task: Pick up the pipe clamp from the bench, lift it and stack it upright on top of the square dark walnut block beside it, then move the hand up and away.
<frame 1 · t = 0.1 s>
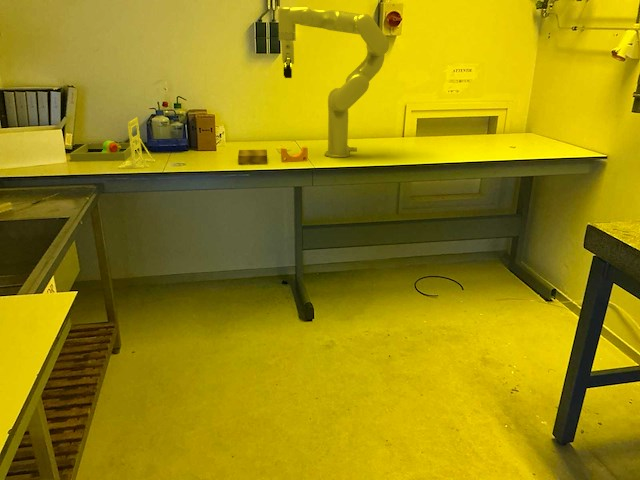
hand: (287, 77, 237), 37 cm above the table, tool pointing down, fingers open, 9 cm apart
pipe clamp: (294, 161, 241), on the table
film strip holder: (136, 165, 231), on the table
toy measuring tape: (104, 156, 249), resting in grey square tray
grey square tray: (105, 155, 249), on the table
walnut block: (253, 161, 239), on the table
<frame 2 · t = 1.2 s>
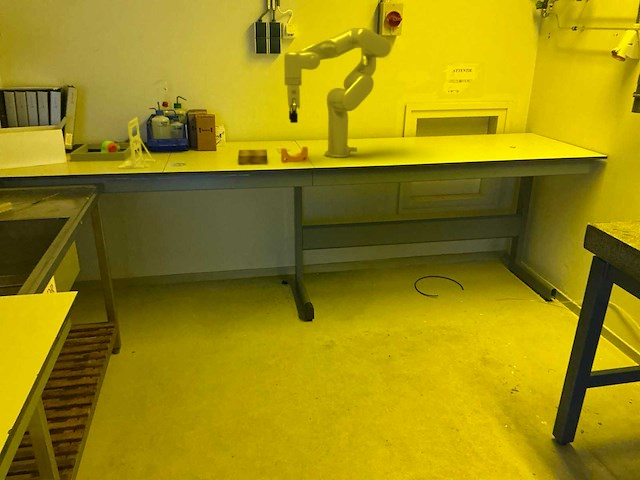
hand: (293, 120, 235), 18 cm above the table, tool pointing down, fingers open, 9 cm apart
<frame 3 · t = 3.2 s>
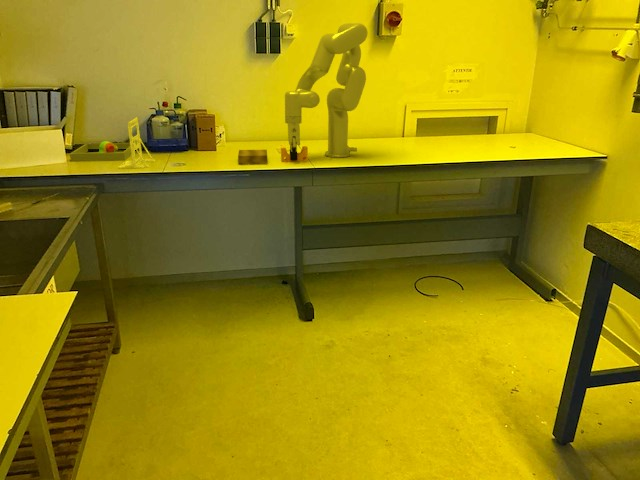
hand: (293, 158, 241), 1 cm above the table, tool pointing down, fingers closed on pipe clamp, 4 cm apart
pipe clamp: (294, 161, 241), on the table, touching gripper
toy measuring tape: (101, 156, 247), resting in grey square tray
everything else where it was.
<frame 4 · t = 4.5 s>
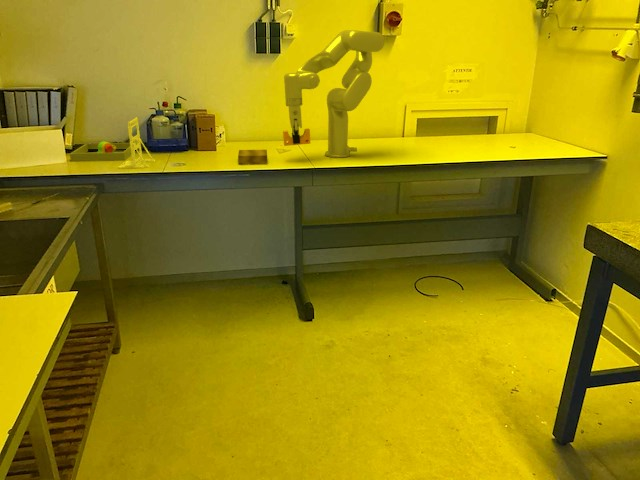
hand: (296, 141, 239), 9 cm above the table, tool pointing down, fingers closed on pipe clamp, 4 cm apart
pipe clamp: (296, 144, 239), point 8 cm above the table, touching gripper
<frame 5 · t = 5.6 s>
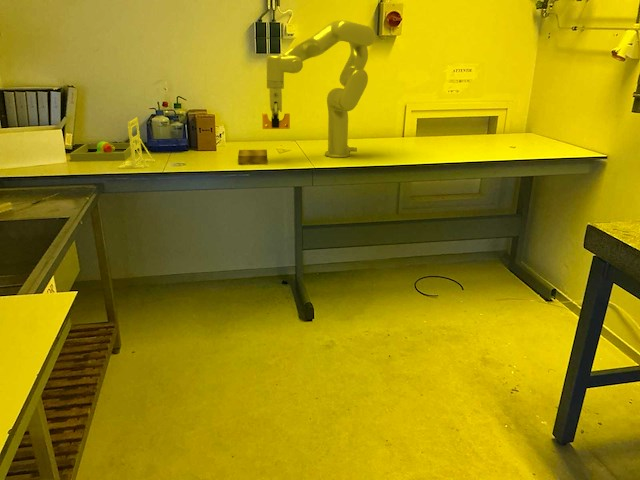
hand: (275, 126, 234), 16 cm above the table, tool pointing down, fingers closed on pipe clamp, 4 cm apart
pipe clamp: (275, 128, 235), point 15 cm above the table, touching gripper
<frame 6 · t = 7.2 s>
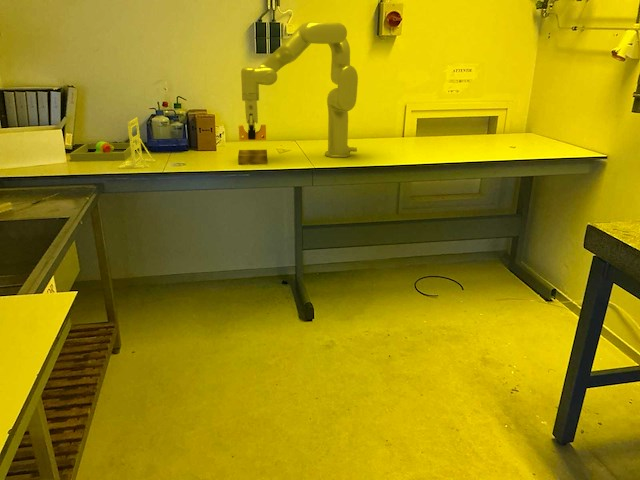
hand: (251, 137, 235), 11 cm above the table, tool pointing down, fingers closed on pipe clamp, 4 cm apart
pipe clamp: (252, 139, 236), point 10 cm above the table, touching gripper
when the fingers open (6 cm above the table, at t = 8.4 s): pipe clamp stays where it is, resting on walnut block.
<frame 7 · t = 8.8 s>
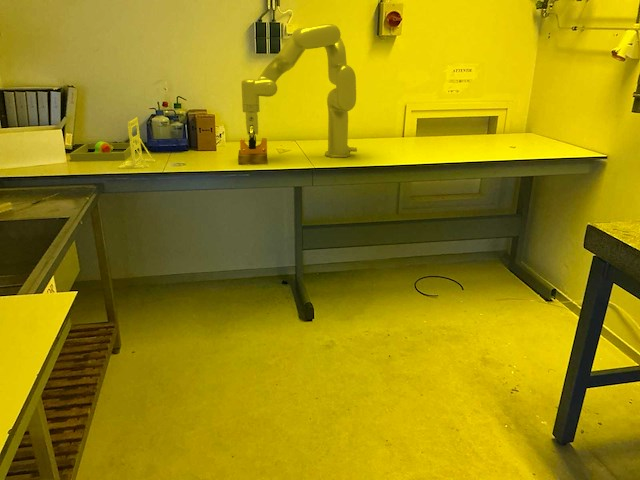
hand: (252, 146, 237), 7 cm above the table, tool pointing down, fingers open, 8 cm apart
pipe clamp: (253, 153, 238), point 4 cm above the table, touching walnut block
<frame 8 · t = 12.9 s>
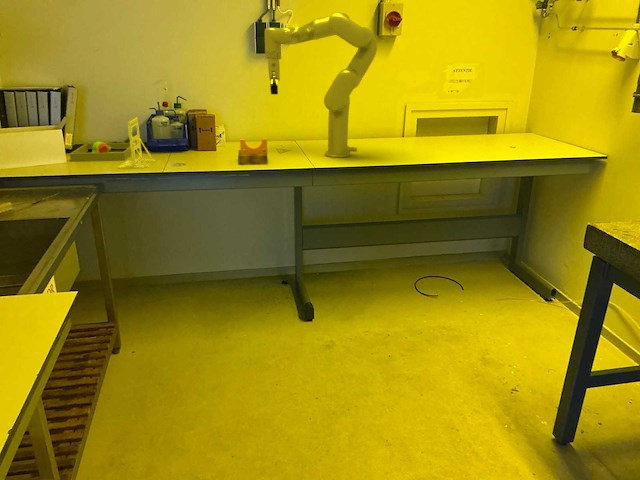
hand: (274, 93, 250), 28 cm above the table, tool pointing down, fingers open, 9 cm apart
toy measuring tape: (94, 157, 246), resting in grey square tray
everything else where it was.
at the end: pipe clamp inside the target area on the walnut block (0.6 cm from its centre), point 3.8 cm above the walnut block's base; pipe clamp tilted 0°; the gripper is holding nothing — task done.
